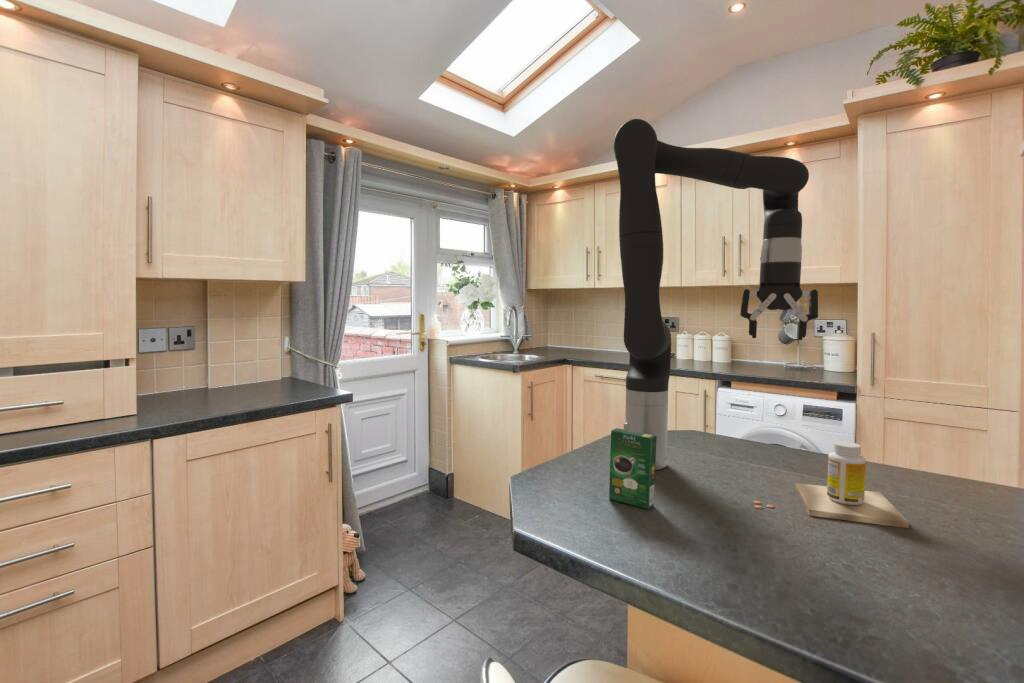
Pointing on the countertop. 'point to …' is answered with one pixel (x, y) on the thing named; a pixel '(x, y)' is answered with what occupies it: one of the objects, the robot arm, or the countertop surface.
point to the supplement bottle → (846, 474)
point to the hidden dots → (761, 506)
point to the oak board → (850, 507)
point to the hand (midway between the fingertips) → (776, 339)
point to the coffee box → (632, 467)
